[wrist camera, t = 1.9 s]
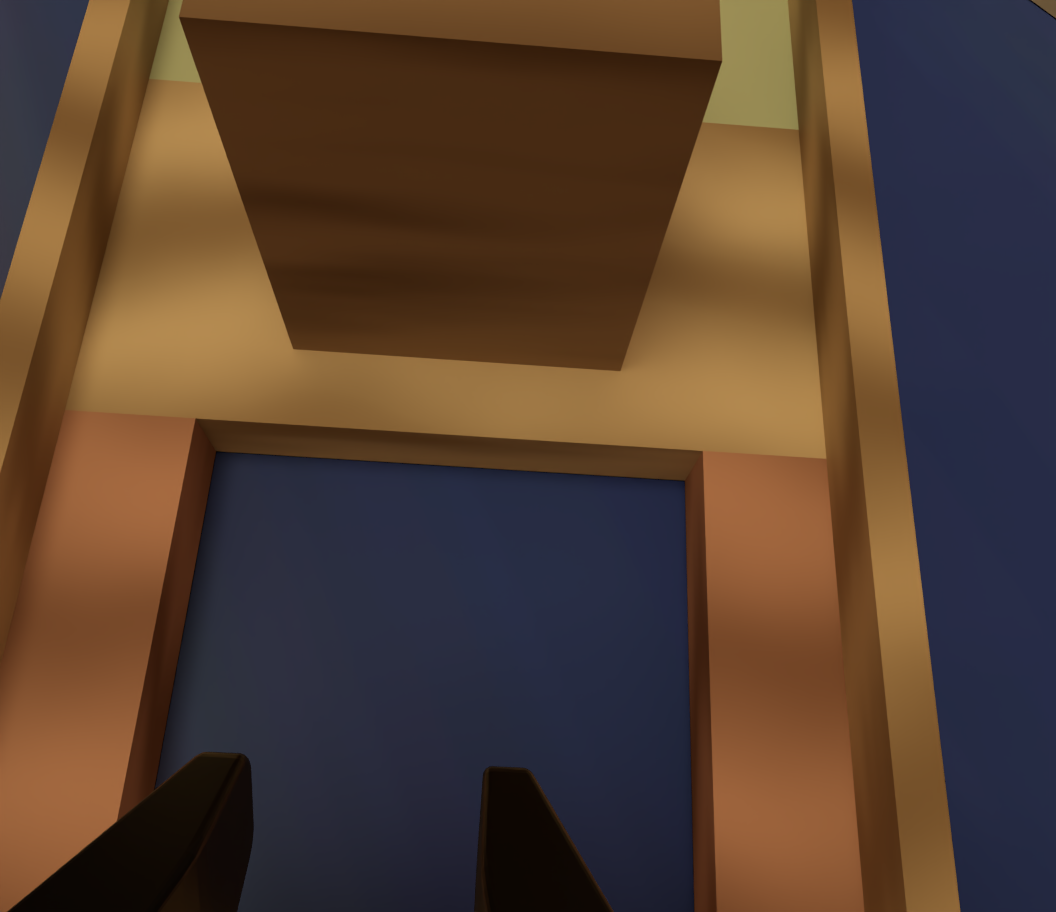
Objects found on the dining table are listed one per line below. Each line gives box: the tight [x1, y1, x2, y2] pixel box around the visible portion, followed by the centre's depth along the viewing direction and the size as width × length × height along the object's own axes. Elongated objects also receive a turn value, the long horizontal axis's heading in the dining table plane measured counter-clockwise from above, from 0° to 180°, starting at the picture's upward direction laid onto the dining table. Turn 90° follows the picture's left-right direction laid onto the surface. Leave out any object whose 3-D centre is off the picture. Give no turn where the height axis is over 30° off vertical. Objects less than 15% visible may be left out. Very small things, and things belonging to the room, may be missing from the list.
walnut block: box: [179, 0, 722, 371], centre depth 20 cm, size 8×8×10 cm
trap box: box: [0, 0, 960, 912], centre depth 27 cm, size 51×20×4 cm, turn 177°
